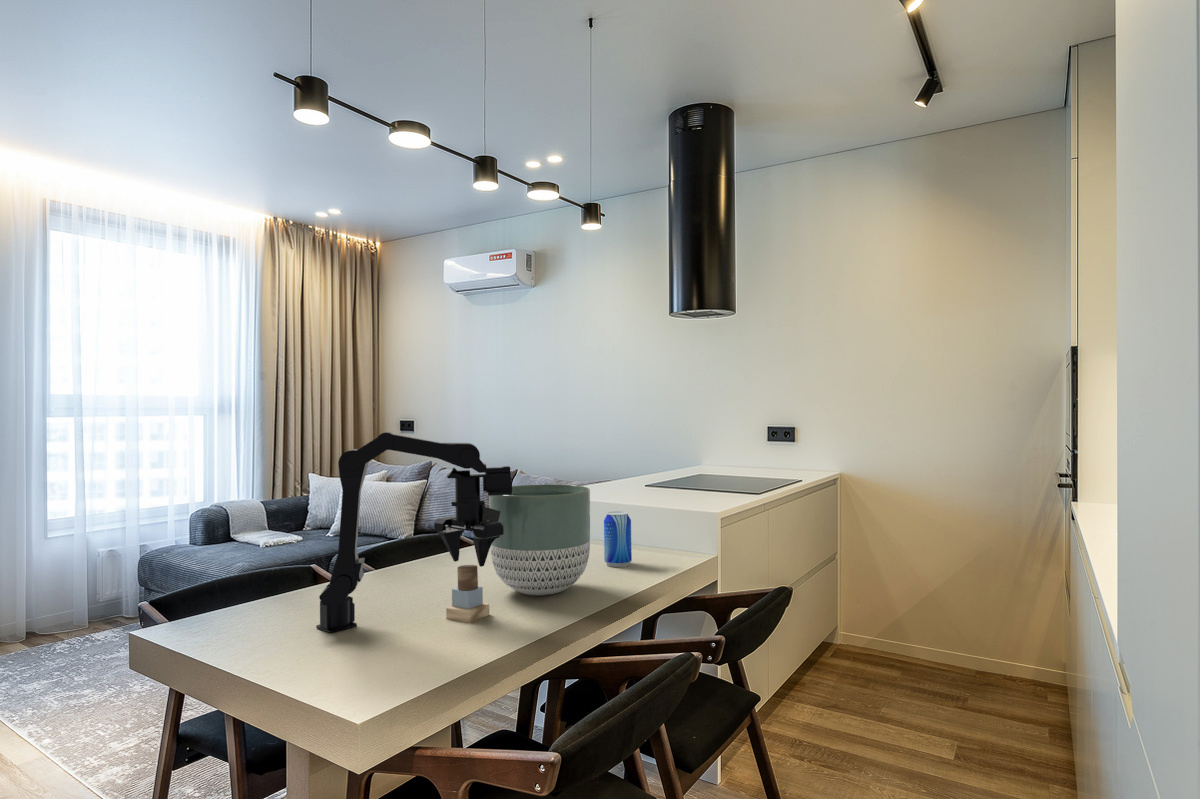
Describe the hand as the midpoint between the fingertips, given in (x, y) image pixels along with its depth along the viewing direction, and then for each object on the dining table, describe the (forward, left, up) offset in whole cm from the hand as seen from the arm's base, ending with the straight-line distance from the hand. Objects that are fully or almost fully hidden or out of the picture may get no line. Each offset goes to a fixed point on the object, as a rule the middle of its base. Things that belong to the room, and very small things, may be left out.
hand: (468, 563), depth 160 cm
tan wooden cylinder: (0, +1, -6) cm, 6 cm away
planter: (+26, +2, -13) cm, 29 cm away
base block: (0, +1, -13) cm, 13 cm away
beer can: (+63, +5, -13) cm, 64 cm away
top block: (0, +1, -10) cm, 10 cm away
